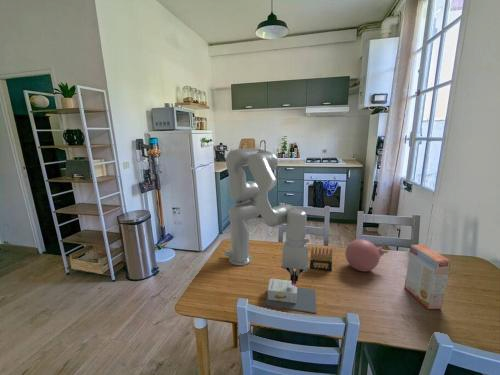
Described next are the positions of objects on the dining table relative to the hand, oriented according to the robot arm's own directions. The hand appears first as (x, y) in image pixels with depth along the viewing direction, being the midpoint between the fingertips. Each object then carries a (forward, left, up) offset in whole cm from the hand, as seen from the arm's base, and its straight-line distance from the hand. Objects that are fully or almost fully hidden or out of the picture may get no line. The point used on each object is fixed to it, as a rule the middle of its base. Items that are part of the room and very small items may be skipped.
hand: (294, 281), depth 99 cm
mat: (-1, 0, -8) cm, 8 cm away
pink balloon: (+34, +30, -8) cm, 46 cm away
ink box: (+2, 0, -5) cm, 5 cm away
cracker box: (+52, +12, -8) cm, 54 cm away
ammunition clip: (+12, +25, -8) cm, 29 cm away
